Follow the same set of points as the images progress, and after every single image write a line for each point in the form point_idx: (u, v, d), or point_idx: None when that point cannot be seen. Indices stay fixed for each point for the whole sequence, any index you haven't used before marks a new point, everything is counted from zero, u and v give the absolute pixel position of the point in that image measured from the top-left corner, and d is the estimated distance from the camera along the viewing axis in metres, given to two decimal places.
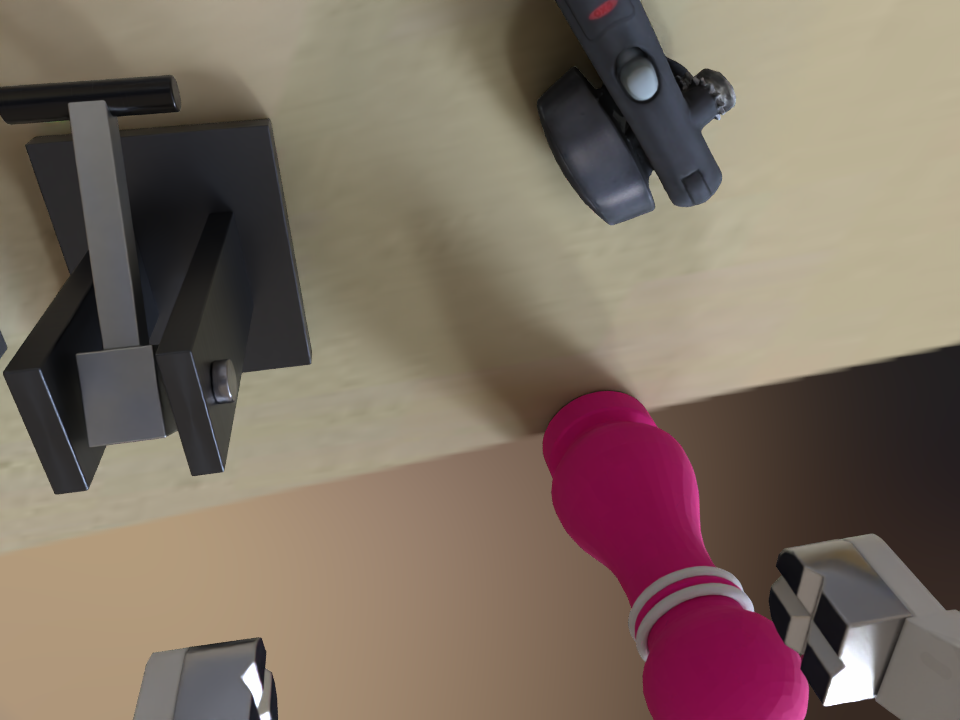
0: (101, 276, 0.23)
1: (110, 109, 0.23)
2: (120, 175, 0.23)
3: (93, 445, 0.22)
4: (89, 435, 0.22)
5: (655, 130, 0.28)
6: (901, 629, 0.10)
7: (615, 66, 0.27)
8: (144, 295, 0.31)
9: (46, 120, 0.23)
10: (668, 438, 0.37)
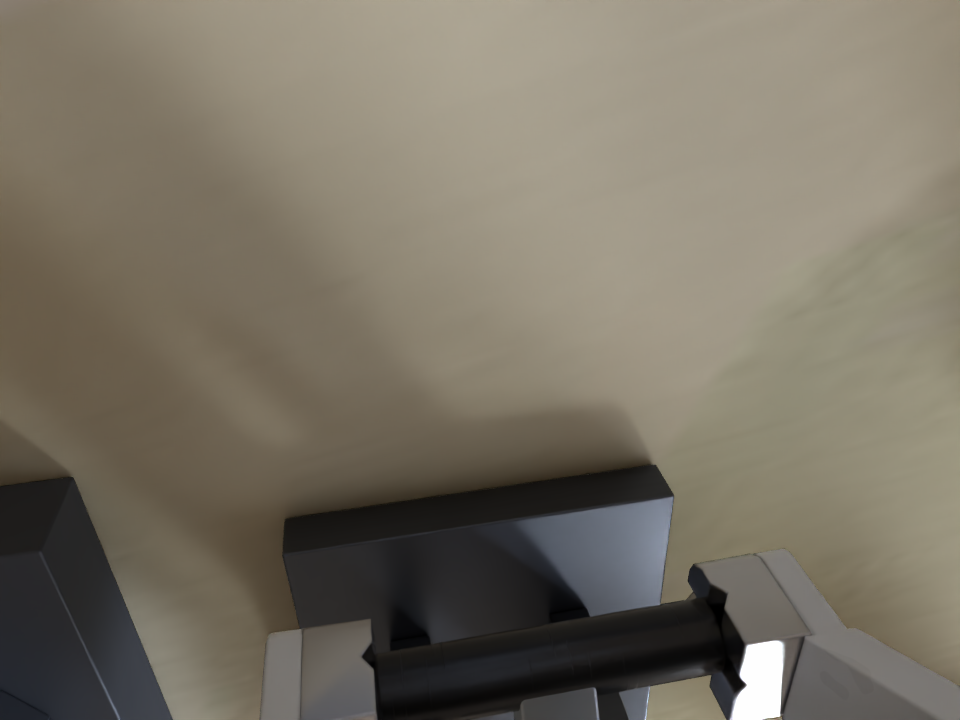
0: None
1: None
2: None
3: None
4: None
5: None
6: (801, 648, 0.10)
7: None
8: None
9: None
10: None
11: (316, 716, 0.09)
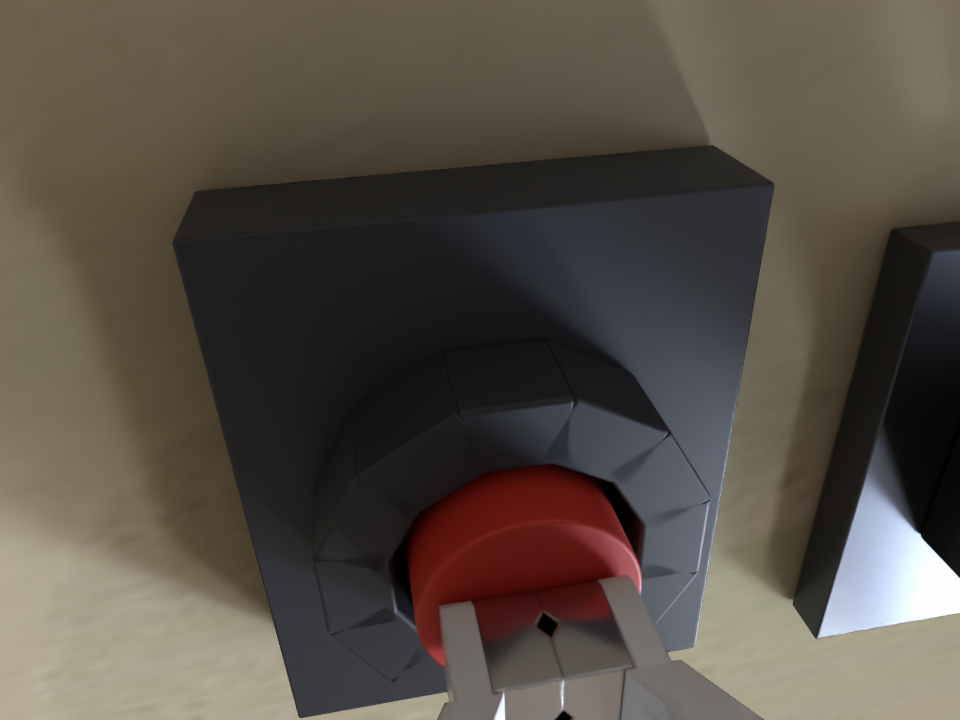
0: None
1: None
2: None
3: None
4: None
5: None
6: (624, 680, 0.10)
7: None
8: None
9: None
10: None
11: (506, 681, 0.10)
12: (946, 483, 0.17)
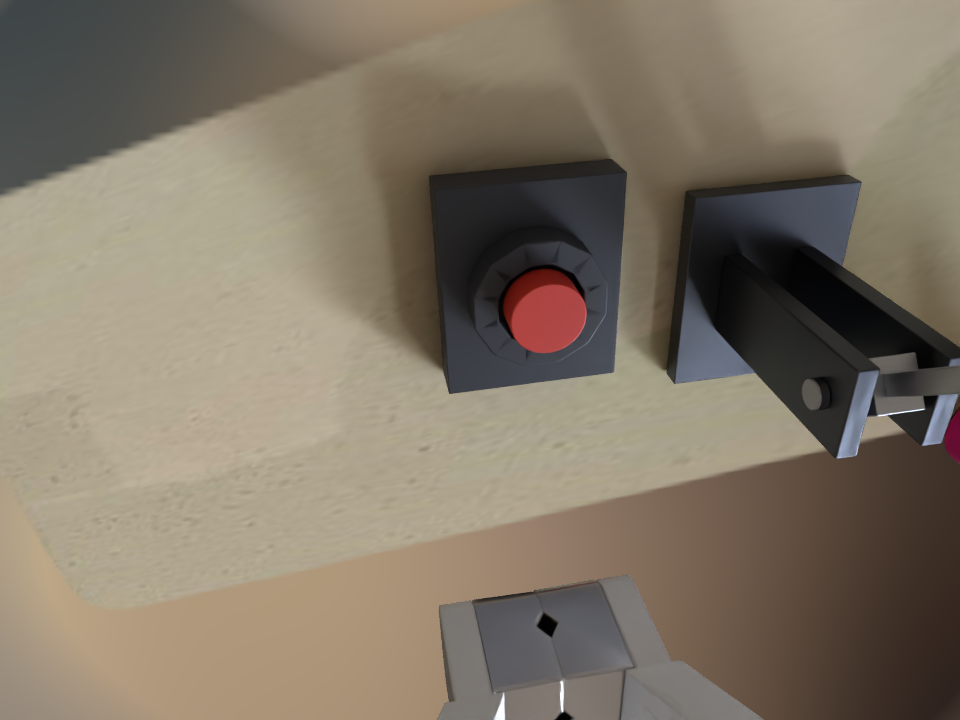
0: None
1: None
2: None
3: None
4: None
5: None
6: (625, 680, 0.10)
7: None
8: None
9: None
10: None
11: (506, 681, 0.10)
12: (720, 301, 0.40)
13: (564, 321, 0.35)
